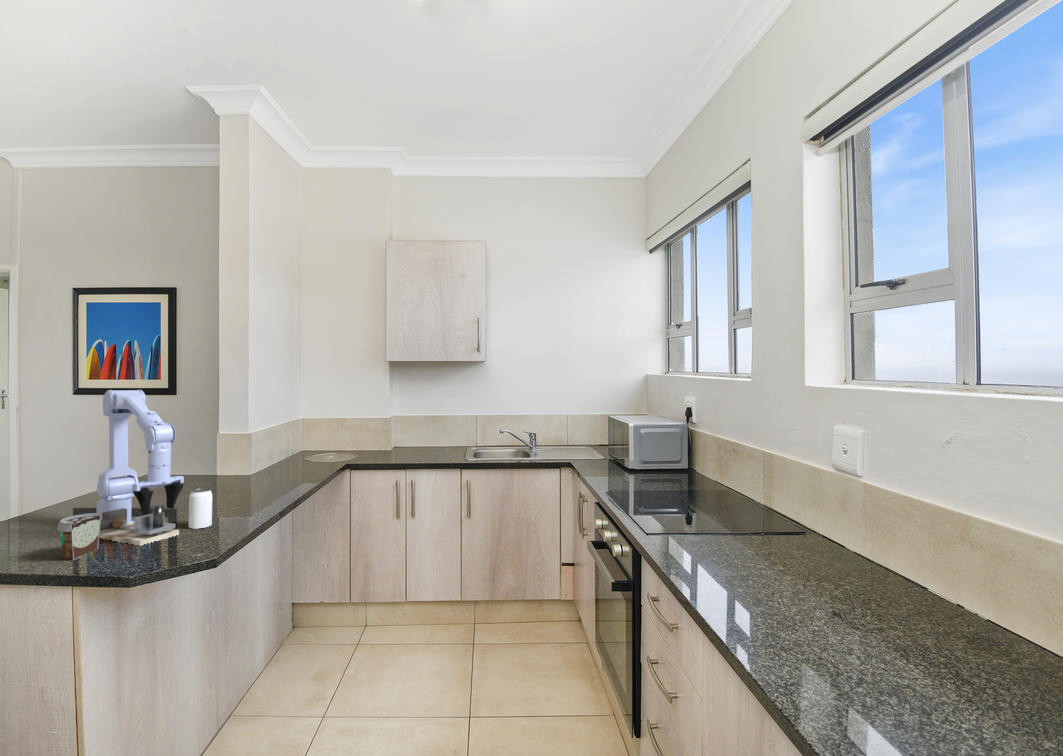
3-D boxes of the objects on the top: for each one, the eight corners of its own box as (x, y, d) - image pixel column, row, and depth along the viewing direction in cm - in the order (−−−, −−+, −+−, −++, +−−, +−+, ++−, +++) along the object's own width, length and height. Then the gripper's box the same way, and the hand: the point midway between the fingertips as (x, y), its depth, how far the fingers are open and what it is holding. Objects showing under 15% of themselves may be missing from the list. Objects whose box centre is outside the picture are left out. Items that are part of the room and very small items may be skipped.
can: (200, 530, 175) (201, 492, 175) (183, 528, 176) (184, 491, 176) (216, 525, 181) (217, 488, 181) (199, 523, 182) (200, 487, 182)
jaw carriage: (134, 532, 162) (134, 507, 162) (160, 525, 169) (160, 502, 169) (149, 534, 160) (150, 509, 160) (175, 527, 167) (175, 504, 167)
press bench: (87, 536, 165) (88, 515, 165) (128, 527, 177) (128, 506, 177) (140, 545, 158) (140, 523, 158) (178, 534, 170) (179, 513, 170)
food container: (78, 547, 155) (79, 512, 155) (101, 547, 156) (102, 512, 156) (43, 562, 143) (44, 524, 143) (68, 562, 144) (69, 524, 144)
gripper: (144, 469, 156) (143, 517, 156) (191, 462, 170) (190, 506, 170) (127, 468, 158) (126, 515, 158) (174, 461, 172) (173, 504, 172)
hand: (158, 510), depth 164 cm, fingers open, 7 cm apart
